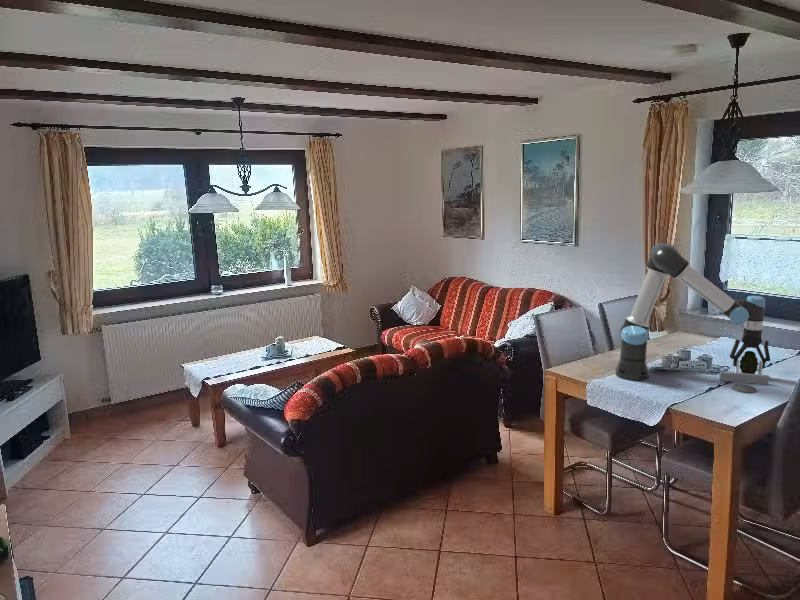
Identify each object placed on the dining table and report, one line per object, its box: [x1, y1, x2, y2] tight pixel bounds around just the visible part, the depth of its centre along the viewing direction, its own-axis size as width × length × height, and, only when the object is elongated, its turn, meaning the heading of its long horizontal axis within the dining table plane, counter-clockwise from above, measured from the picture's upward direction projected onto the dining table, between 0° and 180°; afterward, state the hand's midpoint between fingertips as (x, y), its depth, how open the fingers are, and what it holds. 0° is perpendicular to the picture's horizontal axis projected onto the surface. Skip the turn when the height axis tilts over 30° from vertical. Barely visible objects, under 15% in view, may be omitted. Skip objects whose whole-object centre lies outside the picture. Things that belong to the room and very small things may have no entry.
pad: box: [731, 383, 758, 394], centre depth 263 cm, size 10×10×1 cm
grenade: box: [739, 350, 759, 374], centre depth 279 cm, size 8×8×12 cm
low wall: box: [718, 371, 770, 385], centre depth 272 cm, size 20×2×4 cm, turn 72°
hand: (747, 373), depth 280 cm, fingers open, 9 cm apart
